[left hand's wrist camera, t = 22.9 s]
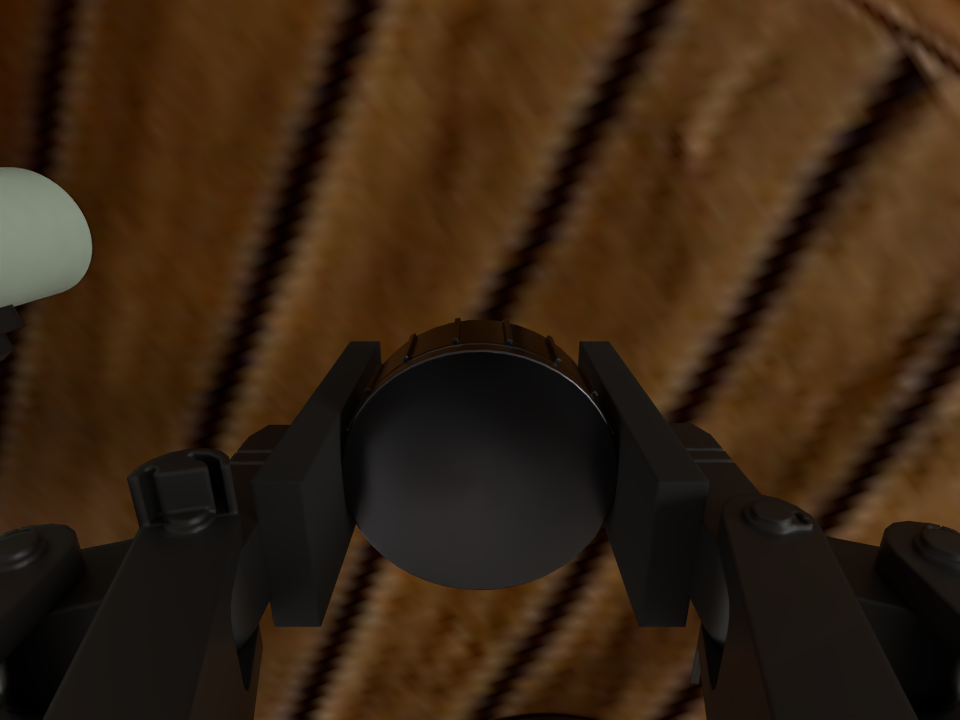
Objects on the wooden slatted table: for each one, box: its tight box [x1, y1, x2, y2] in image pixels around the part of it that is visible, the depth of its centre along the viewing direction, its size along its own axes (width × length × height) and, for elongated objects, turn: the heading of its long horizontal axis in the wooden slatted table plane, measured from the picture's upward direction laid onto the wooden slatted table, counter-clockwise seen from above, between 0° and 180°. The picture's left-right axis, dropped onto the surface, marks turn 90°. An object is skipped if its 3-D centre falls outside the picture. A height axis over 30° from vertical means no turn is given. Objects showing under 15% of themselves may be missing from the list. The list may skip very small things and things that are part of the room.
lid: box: [342, 318, 618, 590], centre depth 11 cm, size 5×5×2 cm
